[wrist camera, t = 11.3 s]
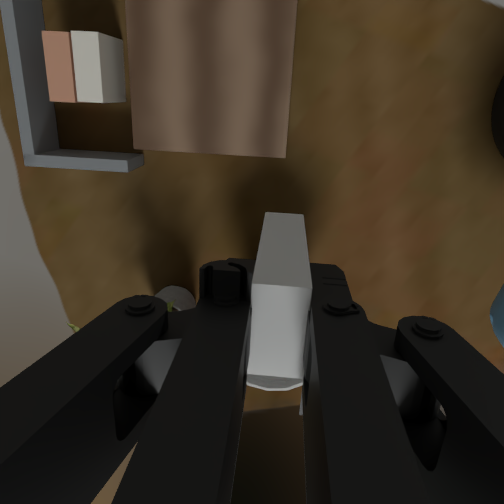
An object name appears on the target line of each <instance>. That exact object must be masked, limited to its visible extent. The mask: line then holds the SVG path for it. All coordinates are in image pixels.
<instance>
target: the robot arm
mask: <svg viewBox="0 0 504 504" xmlns="http://www.w3.org/2000/svg"><path fill="white" fill-rule="evenodd" d="M492 132H493V137H494V140H495V143H496V146H497V148H498V150H499V152H500V153H501V155H502V156H503V158H504V77H503V79H502V81H501V83H500V85H499V87H498V90H497V92H496V95H495V99H494V103H493V108H492ZM490 319H491V324H492V326H493V331H494V333H495V335H496V337H497V338H498V340H499V341H500V343H501V344H502V346H503V347H504V284H503V286H502V287H501V289H500V291H499V293H498V294H497V296H496V298H495V300H494V302H493V303H492V306H491V309H490ZM303 368H304V377H303ZM247 374H254V375H265V376H276V377H287V378H297V379H302V377H303V386H302V395H301V404H300V413H299V414H300V415H303V429H304V453H305V475H306V476H305V478H306V502H307V504H504V374H503V373H502V372H500V371H499V370H498V369H497V368H496V367H495V366H494V365H493V364H492V363H490V362H489V361H488V360H487V359H486V358H485V357H484V356H483V355H481V354H480V353H479V352H478V351H477V350H476V349H475V348H474V347H473V346H471V345H470V344H469V343H468V342H467V341H466V340H465V339H464V338H462V337H461V336H460V335H459V334H458V333H457V332H456V331H455V330H454V329H452V328H451V327H449V326H448V325H446V324H445V323H442V322H440V321H438V320H436V319H434V318H431V317H429V318H428V317H426V316H409V317H404V318H402V319H401V320H399V322H398V326H397V330H396V329H392V328H388V327H384V326H380V325H377V324H374V323H372V322H370V321H368V319H367V317H366V314H365V311H364V310H363V308H362V307H361V306H360V305H359V304H357V303H355V302H354V301H353V300H352V297H351V294H350V291H349V287H348V284H347V281H346V278H345V275H344V272H343V271H342V270H341V269H340V268H339V267H337V266H336V265H331V264H318V263H309V256H308V248H307V240H306V232H305V224H304V216H303V214H289V213H274V212H265V217H264V222H263V227H262V233H261V238H260V243H259V248H258V253H257V259H256V260H249V259H236V258H229V259H227V260H219V261H213V262H209V263H206V264H204V265H203V266H202V267H201V268H200V269H199V300H198V303H197V305H196V307H195V308H191V309H188V310H181V311H171V312H168V307H167V303H166V302H165V301H164V300H163V299H161V298H158V297H155V296H148V295H141V296H139V295H135V296H133V297H129V298H125V299H123V300H121V301H119V302H117V303H116V304H114V305H113V306H112V307H110V308H109V309H107V310H106V311H105V312H103V313H102V314H101V315H99V316H98V317H96V318H95V319H94V320H92V321H91V322H90V323H88V324H87V325H85V326H84V327H83V328H81V329H80V330H79V331H77V332H76V333H74V334H73V335H72V336H71V337H69V338H68V339H66V340H65V341H64V342H62V343H61V344H59V345H58V346H57V347H55V348H54V349H53V350H51V351H50V352H49V353H47V354H46V355H44V356H43V357H42V358H40V359H39V360H38V361H36V362H35V363H33V364H32V365H31V366H29V367H28V368H26V369H25V370H24V371H22V372H21V373H20V374H18V375H17V376H16V377H14V378H13V379H11V380H10V381H9V382H7V383H6V384H5V385H3V386H2V387H0V504H91V502H92V501H93V500H94V498H95V497H96V496H97V494H98V493H99V492H100V490H101V489H102V488H103V487H104V485H105V484H106V483H107V481H108V480H109V479H110V477H111V476H112V474H113V473H114V472H115V470H116V469H117V468H118V467H119V465H120V464H121V463H122V461H123V460H124V459H125V457H126V456H127V455H128V453H129V452H130V451H131V449H132V448H133V447H134V445H135V444H136V443H137V442H138V443H137V445H136V447H135V450H134V452H133V455H132V457H131V459H130V461H129V464H128V466H127V468H126V471H125V473H124V475H123V478H122V480H121V483H120V485H119V487H118V489H117V492H116V494H115V496H114V499H113V501H112V503H111V504H230V501H231V494H232V486H233V479H234V472H235V465H236V458H237V450H238V443H239V436H240V429H241V421H242V414H243V407H244V400H245V393H246V385H247ZM441 405H442V407H443V408H444V411H445V414H446V416H445V415H444V414H443V413H442V412H441V410H440V406H441Z"/></svg>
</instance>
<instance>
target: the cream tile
mask: <svg viewBox="0 0 504 504" xmlns="http://www.w3.org/2000/svg"><path fill="white" fill-rule="evenodd" d="M71 39H72V49H73V59H74V70H75V80H76V91H77V101H78V102H94V103H115V102H126V89H125V71H124V53H123V40H121V39H118V38H115V37H112V36H109V35H106V34H103V33H100V32H89V31H71Z"/></svg>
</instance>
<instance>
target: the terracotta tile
mask: <svg viewBox="0 0 504 504" xmlns="http://www.w3.org/2000/svg"><path fill="white" fill-rule="evenodd" d="M42 40H43V48H44V56H45V65H46V73H47V81H48V90H49V98H50V101H55V102H71V103H80V102H78V101H77V91H76V80H75V70H74V59H73V49H72V39H71V33H70V32H59V31H42Z"/></svg>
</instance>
